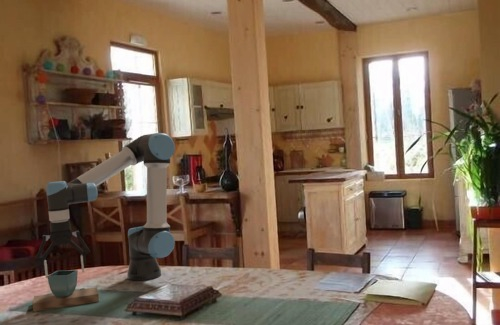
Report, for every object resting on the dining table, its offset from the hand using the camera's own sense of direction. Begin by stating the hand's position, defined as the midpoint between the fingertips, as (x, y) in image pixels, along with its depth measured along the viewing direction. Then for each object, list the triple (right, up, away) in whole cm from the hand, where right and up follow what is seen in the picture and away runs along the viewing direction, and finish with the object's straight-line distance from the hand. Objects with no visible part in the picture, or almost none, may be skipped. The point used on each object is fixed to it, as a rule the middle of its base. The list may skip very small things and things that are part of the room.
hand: (65, 274), depth 221 cm
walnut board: (+1, -11, 0) cm, 11 cm away
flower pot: (0, -8, 0) cm, 8 cm away
